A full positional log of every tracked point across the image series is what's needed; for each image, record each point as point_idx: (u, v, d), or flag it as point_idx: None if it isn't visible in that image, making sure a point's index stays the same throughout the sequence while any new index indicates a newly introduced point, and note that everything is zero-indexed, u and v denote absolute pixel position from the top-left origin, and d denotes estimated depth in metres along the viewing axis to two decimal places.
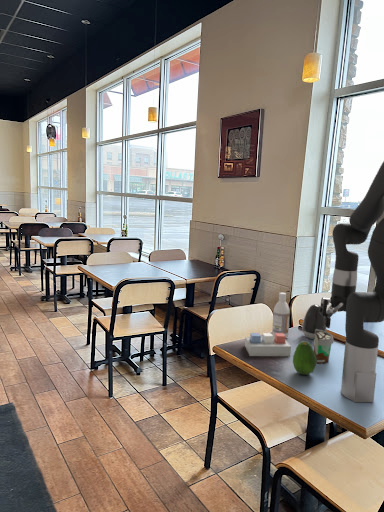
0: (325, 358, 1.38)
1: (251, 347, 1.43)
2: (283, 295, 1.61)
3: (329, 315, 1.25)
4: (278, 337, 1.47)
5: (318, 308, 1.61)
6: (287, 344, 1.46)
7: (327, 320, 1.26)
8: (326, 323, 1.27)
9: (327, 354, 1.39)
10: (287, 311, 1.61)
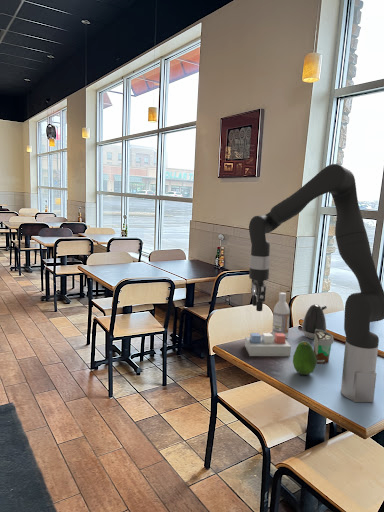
0: (325, 358, 1.38)
1: (251, 347, 1.43)
2: (283, 295, 1.61)
3: None
4: (278, 337, 1.47)
5: (318, 308, 1.61)
6: (287, 344, 1.46)
7: (262, 304, 1.42)
8: None
9: (327, 354, 1.39)
10: (287, 311, 1.61)
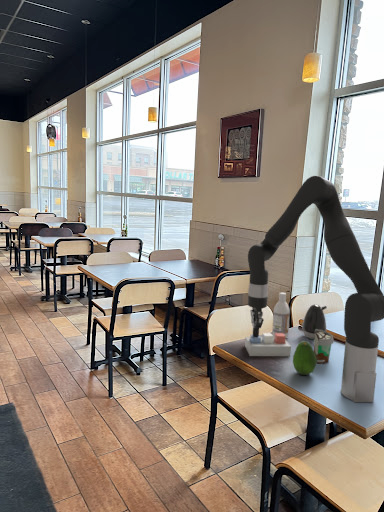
0: (325, 358, 1.38)
1: (251, 347, 1.43)
2: (283, 295, 1.61)
3: None
4: (278, 337, 1.47)
5: (318, 308, 1.61)
6: (287, 344, 1.46)
7: (258, 330, 1.47)
8: (257, 333, 1.47)
9: (327, 354, 1.39)
10: (287, 311, 1.61)
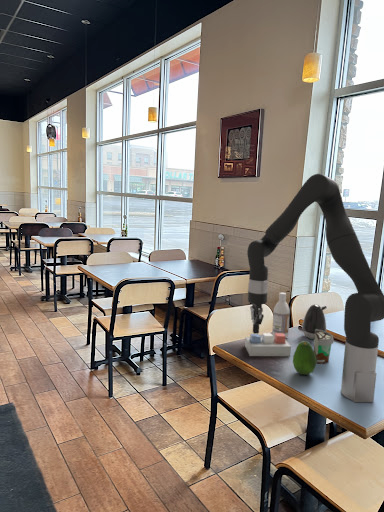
0: (325, 358, 1.38)
1: (251, 347, 1.43)
2: (283, 295, 1.61)
3: None
4: (278, 337, 1.47)
5: (318, 308, 1.61)
6: (287, 344, 1.46)
7: (258, 326, 1.46)
8: (258, 329, 1.46)
9: (327, 354, 1.39)
10: (287, 311, 1.61)
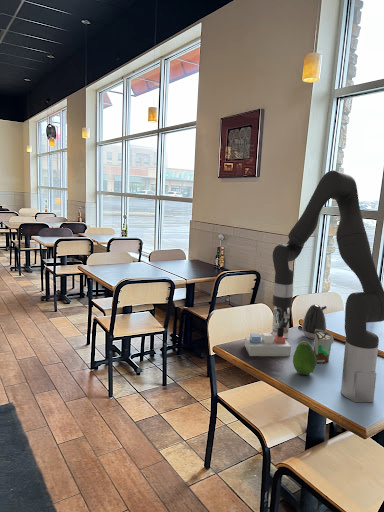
0: (325, 358, 1.38)
1: (251, 347, 1.43)
2: None
3: None
4: (278, 338, 1.47)
5: (318, 308, 1.61)
6: (287, 344, 1.46)
7: (283, 330, 1.47)
8: (282, 333, 1.47)
9: (327, 354, 1.39)
10: None
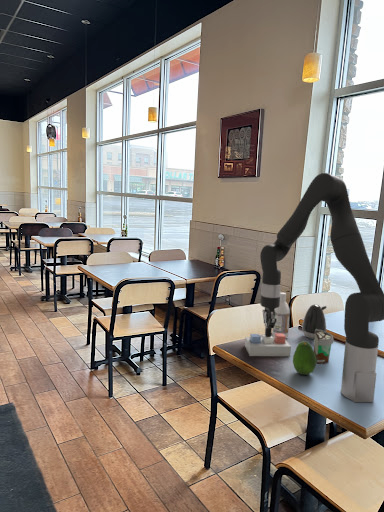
0: (325, 358, 1.38)
1: (251, 347, 1.43)
2: (283, 295, 1.61)
3: None
4: (278, 337, 1.47)
5: (318, 308, 1.61)
6: (287, 344, 1.46)
7: (271, 330, 1.47)
8: None
9: (327, 354, 1.39)
10: (287, 311, 1.61)
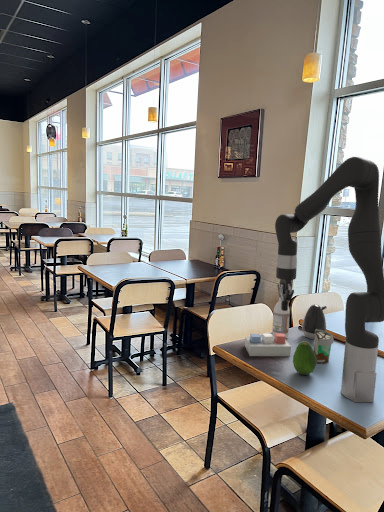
0: (325, 358, 1.38)
1: (251, 347, 1.43)
2: None
3: None
4: (278, 337, 1.47)
5: (318, 308, 1.61)
6: (287, 344, 1.46)
7: None
8: (286, 306, 1.43)
9: (327, 354, 1.39)
10: (287, 311, 1.61)
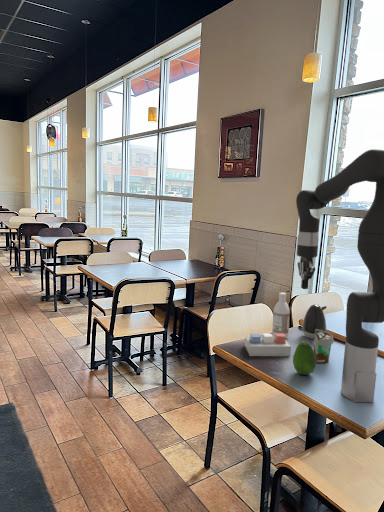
0: (325, 358, 1.38)
1: (251, 347, 1.43)
2: (283, 295, 1.61)
3: None
4: (278, 337, 1.47)
5: (318, 308, 1.61)
6: (287, 344, 1.46)
7: (307, 282, 1.41)
8: None
9: (327, 354, 1.39)
10: (287, 311, 1.61)
